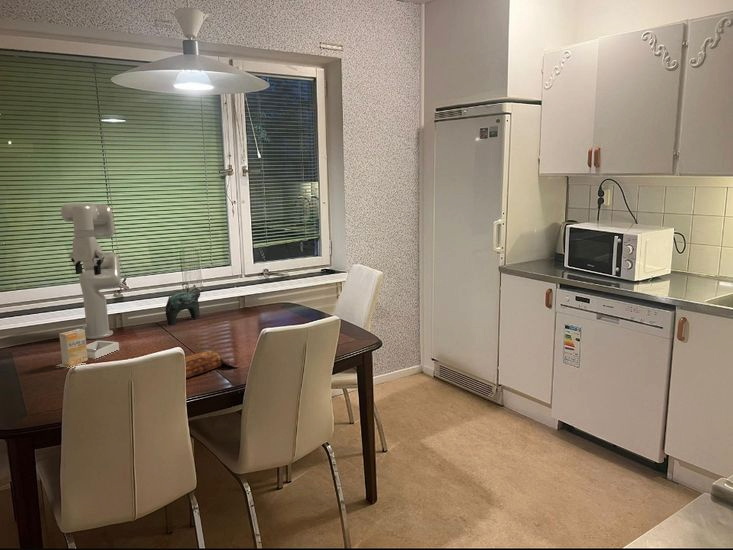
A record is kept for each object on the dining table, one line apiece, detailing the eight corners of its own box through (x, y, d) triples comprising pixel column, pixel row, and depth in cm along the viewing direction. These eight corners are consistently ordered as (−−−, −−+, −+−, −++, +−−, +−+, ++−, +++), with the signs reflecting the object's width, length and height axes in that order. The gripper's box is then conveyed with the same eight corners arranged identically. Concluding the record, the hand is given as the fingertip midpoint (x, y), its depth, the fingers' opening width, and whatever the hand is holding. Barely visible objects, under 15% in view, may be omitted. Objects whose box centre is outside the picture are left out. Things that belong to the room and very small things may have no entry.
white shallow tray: (74, 358, 232) (73, 347, 232) (98, 348, 245) (97, 338, 245) (95, 360, 229) (94, 349, 229) (119, 350, 242) (118, 340, 242)
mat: (55, 367, 222) (55, 365, 222) (75, 359, 231) (74, 357, 231) (75, 369, 219) (75, 368, 219) (94, 361, 228) (94, 360, 228)
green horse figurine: (197, 316, 299) (194, 279, 295) (204, 318, 295) (202, 281, 291) (164, 324, 283) (161, 286, 279) (172, 326, 279) (169, 287, 275)
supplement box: (69, 366, 220) (66, 334, 218) (62, 364, 223) (58, 333, 220) (88, 360, 227) (85, 329, 225) (81, 358, 230) (77, 328, 227)
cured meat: (244, 366, 221) (243, 349, 220) (188, 385, 202) (187, 367, 201) (217, 358, 232) (215, 342, 231) (162, 375, 213) (160, 358, 212)
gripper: (60, 234, 235) (65, 274, 238) (94, 235, 230) (98, 276, 233) (74, 233, 242) (78, 271, 245) (107, 233, 237) (111, 273, 240)
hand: (88, 274), depth 239 cm, fingers open, 9 cm apart
